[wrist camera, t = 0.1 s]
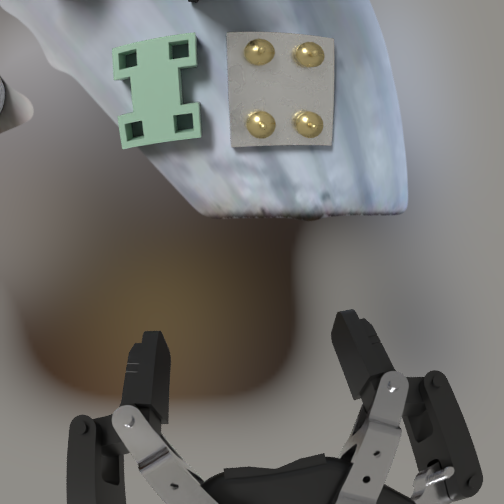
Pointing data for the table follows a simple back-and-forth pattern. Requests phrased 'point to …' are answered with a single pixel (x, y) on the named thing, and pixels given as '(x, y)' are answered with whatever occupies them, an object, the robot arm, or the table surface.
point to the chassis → (280, 88)
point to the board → (156, 90)
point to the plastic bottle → (2, 95)
